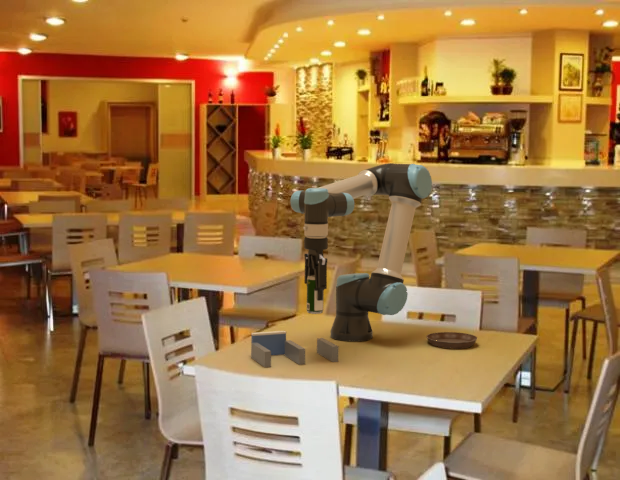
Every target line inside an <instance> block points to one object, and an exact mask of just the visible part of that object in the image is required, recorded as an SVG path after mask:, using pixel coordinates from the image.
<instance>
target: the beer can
mask: <svg viewBox="0 0 620 480" xmlns="http://www.w3.org/2000/svg"><path fill="white" fill-rule="evenodd" d="M314 289H316V284H315V274H313V275H308V278H307V285H306V312H307V313H308V314H311V315H320V314H323V312H324V309H323V310H318V311H315V310H314V300H315V291H314ZM324 291H325V289H324V290H323V302H325V301H324V300H325V299H324V295H325V294H324Z"/></svg>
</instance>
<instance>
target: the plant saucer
mask: <svg viewBox="0 0 620 480" xmlns="http://www.w3.org/2000/svg"><path fill="white" fill-rule="evenodd" d="M426 339H427V341H428V342H429V343H430V344H431V345H432V346H434V347H436V346H438V347H437V348H441V347H444V348H443V349H449V348H453V350H455V349H457V350H459V349H467V348H470V347H472V346H473V345H474V344H475V343H476V342H477V340H478V336H476V335H474V334H470V333H466V332H465V333H464V332H457V331H456V332H455V331H454V332H453V331H442V332H441V331H440V332H433V333H432V332H431V333H429V334H427V335H426ZM436 340H437V341H436Z"/></svg>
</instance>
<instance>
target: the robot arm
mask: <svg viewBox="0 0 620 480" xmlns="http://www.w3.org/2000/svg"><path fill="white" fill-rule="evenodd" d="M430 173H431V172H430V171H429V170H428V168H427V167H426V166H424V165H422V164H415V163H394V162H393V163H390V162H388V163H383V164H379V165H376V166H372V167H370V168H366V169H364V170H361V171H359V173H357V175H354V176H351V177H347V178H345V179H341V180H338V181H335V182H331V183H327V184H324V185H322V186H320V187H309V188H307V189H306V190H304V189H302V190H296V191H294V192H293V193H292V194H291V197H290V201H289V202H290V207H291V209H292V210H293V211H294V212H296V213H300V214H302V215H303V214H304V222H303V223H304V225H303V227H302V229H303V230H304V232H303V233H304V234H303V235H304V236H305V237H304V238H303V247H304V249H305V250H307V251H308V252H307V253H304V254H303V256H304V280H303V281H304V284H306V286H307V278H308V275H313V274H315V284H316V289H314V291H315V300H314V310H315V311H318V310H323V311H324V301H323V290H324V291H325V290H327V289H328V288H327V286H328V285H327V284H328V283H327V282H328V279H327V277H328V275H327V273H328V272H327V271H328V268H327V266H328V258H327V257H326V258H324V257H325V256H324V250H327V249H328V248H329V247H328V243H329V242H328V241H329V240H328V235H329V218H331V217H344V216H349V215H351V214H352V213H353V212H354V210H355V199H357V198H361V197H362V196H364V197H371V196H377V195H378V196H381V195H382V196H388V199H389V201H390V203H391V206H390V211H389V214H388V218H387V222H386V227H385V232H384V237H383V240H382V244H381V249H380V254H379V257H378V262H377V265H376V266H377V267H376V269H375V270H373V271H371V274H369V273H367V272H363V273H362V272H360V273H359V272H358V273H357V272H355V273H346V274H340V275H338V276H337V278H336V286H335V287H336V288H335V316H334V320H333V323H332V326H331V329H330V338H331V339H334V340H338V341H341V342H342V341H344V342H364V341H370V340H371V339H373V333H374V332H373V329H372V324H371V322H370V318H369V312H370V313H373V314H374V313H375V314H380V315H383V316H394V315H397V314H399V312H401V311H402V310H403V309H404V307H405V305H406V303H407V301H408V295H409V294H408V292H407V291H408V289H407V286H406V285H405V284H404V281H405V280H404V277H403V276H402V270H403V266H404V261H405V257H406V253H407V249H408V244H409V243H408V242H409V239H410V234H411V230H412V226H413V222H414V216H415V212H416V209H417V208H419V207H421V206H422V201H423V199H426V198H428V197H429V195H430V194H431V192H432V189H433V181H432V176H431V174H430Z"/></svg>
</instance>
